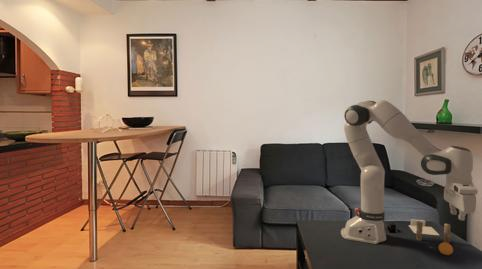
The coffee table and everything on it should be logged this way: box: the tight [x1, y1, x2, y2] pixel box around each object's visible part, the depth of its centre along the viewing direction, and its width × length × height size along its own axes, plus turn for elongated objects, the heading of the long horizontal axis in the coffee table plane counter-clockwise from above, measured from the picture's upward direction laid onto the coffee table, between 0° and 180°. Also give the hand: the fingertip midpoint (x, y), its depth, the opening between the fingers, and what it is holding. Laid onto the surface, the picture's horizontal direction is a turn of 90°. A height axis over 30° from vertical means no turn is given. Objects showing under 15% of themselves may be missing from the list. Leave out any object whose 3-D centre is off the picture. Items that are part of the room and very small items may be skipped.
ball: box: [438, 241, 454, 256], centre depth 136 cm, size 6×6×6 cm
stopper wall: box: [410, 218, 426, 226], centre depth 172 cm, size 7×2×3 cm, turn 76°
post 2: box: [443, 223, 452, 244], centre depth 149 cm, size 3×3×9 cm
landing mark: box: [407, 224, 440, 236], centre depth 165 cm, size 12×12×1 cm
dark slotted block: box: [384, 221, 399, 234], centre depth 165 cm, size 12×7×5 cm, turn 175°
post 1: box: [415, 222, 423, 241], centre depth 152 cm, size 3×3×9 cm
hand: (457, 216), depth 125 cm, fingers open, 6 cm apart
